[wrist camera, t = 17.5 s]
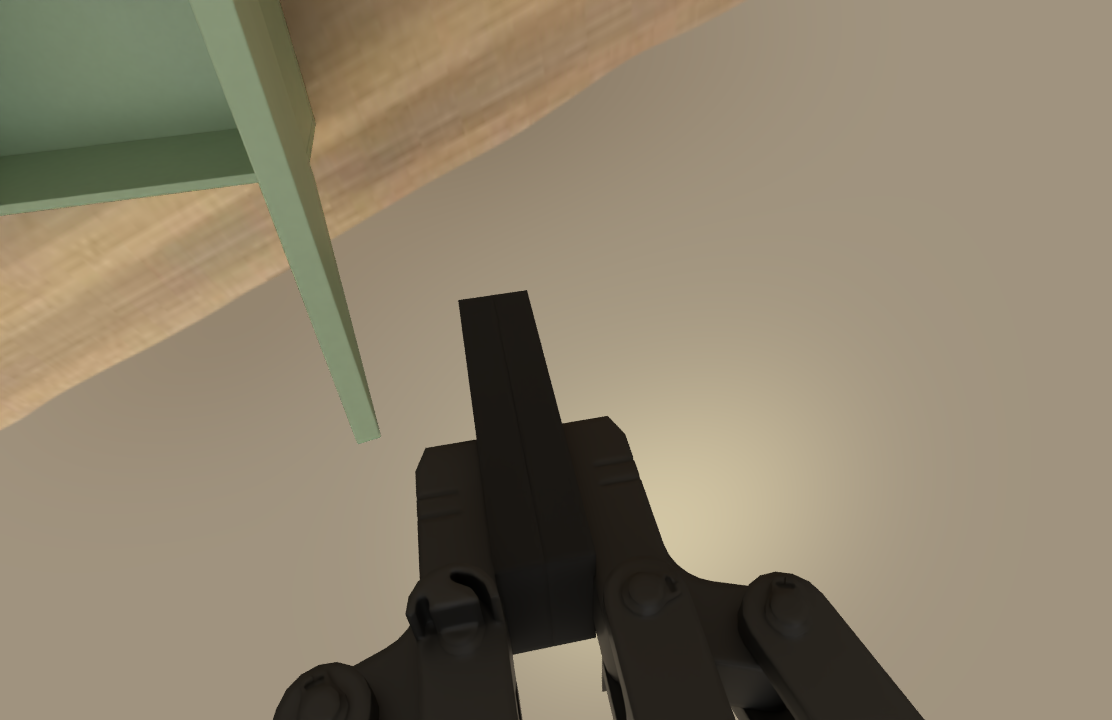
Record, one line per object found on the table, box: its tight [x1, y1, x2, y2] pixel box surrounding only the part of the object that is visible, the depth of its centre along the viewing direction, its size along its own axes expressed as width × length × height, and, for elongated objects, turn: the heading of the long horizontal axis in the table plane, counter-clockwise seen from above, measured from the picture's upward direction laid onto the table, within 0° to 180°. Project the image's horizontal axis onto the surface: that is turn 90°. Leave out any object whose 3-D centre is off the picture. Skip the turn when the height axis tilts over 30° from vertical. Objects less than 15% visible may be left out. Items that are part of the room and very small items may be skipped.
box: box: [0, 0, 316, 216], centre depth 33 cm, size 19×14×7 cm
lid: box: [189, 0, 381, 444], centre depth 24 cm, size 20×14×1 cm
